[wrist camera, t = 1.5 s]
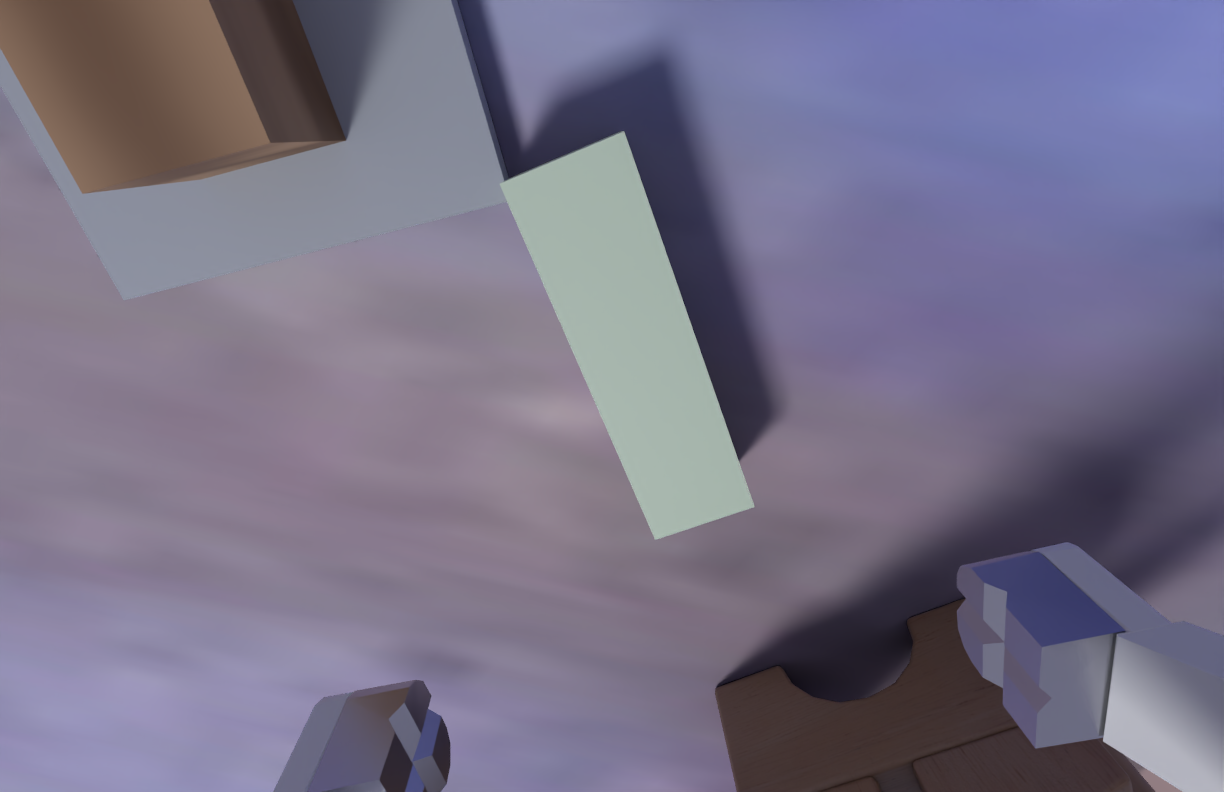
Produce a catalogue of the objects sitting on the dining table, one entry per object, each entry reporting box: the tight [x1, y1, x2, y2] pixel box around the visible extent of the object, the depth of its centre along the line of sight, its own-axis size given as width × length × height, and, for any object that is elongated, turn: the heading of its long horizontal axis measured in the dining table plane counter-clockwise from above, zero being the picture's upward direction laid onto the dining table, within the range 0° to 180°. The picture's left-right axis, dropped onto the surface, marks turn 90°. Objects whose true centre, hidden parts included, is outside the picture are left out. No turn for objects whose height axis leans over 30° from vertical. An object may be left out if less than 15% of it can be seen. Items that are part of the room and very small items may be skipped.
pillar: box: [0, 0, 346, 194], centre depth 16 cm, size 5×5×5 cm
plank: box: [500, 131, 754, 540], centre depth 22 cm, size 4×14×4 cm, turn 21°
